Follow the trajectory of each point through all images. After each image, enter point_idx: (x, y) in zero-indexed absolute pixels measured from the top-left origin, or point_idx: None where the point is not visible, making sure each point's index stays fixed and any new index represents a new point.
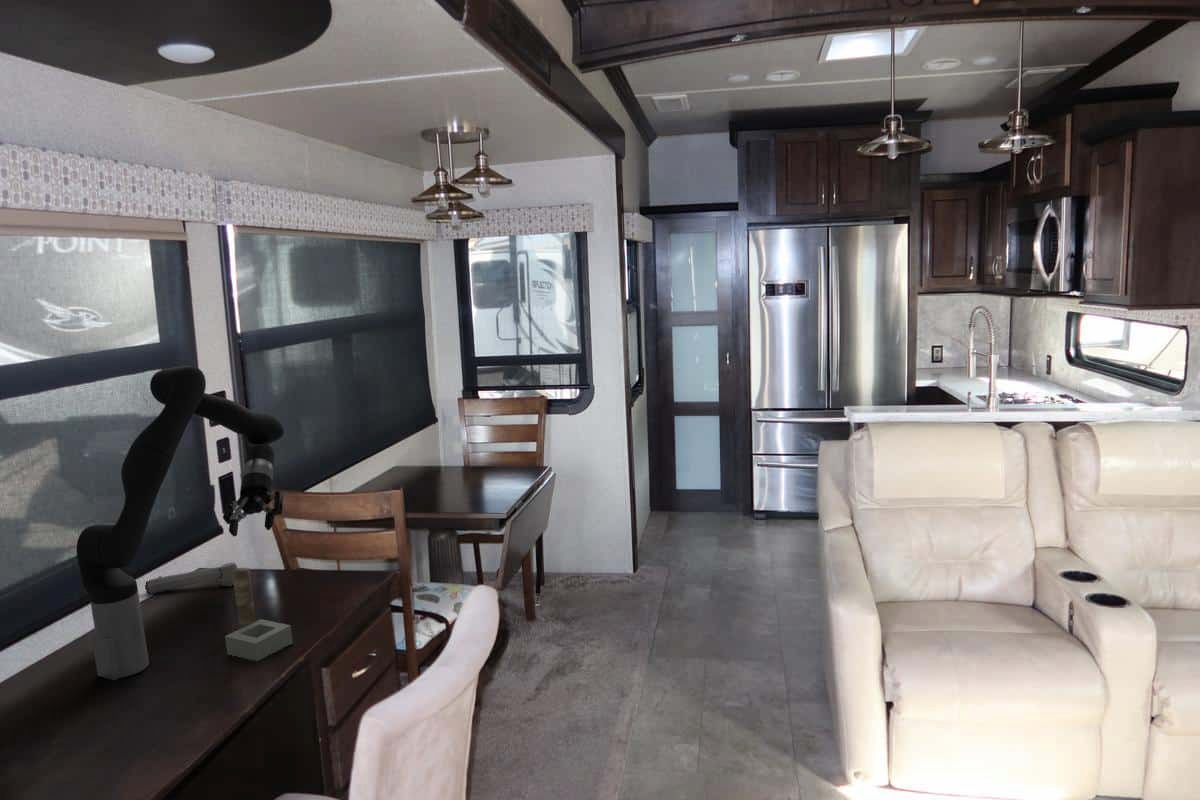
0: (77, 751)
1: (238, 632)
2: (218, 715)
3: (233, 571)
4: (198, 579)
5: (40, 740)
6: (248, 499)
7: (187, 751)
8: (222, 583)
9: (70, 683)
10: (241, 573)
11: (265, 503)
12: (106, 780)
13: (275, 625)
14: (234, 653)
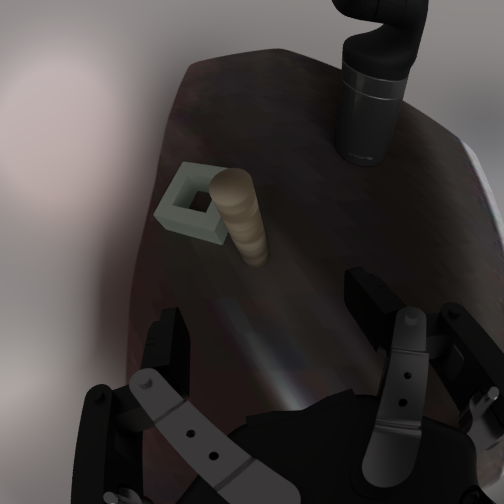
0: (271, 66)
1: None
2: (186, 106)
3: (246, 176)
4: None
5: (315, 69)
6: (360, 464)
7: (188, 81)
8: None
9: None
10: (219, 174)
11: (159, 427)
12: (225, 59)
13: (176, 212)
14: None
